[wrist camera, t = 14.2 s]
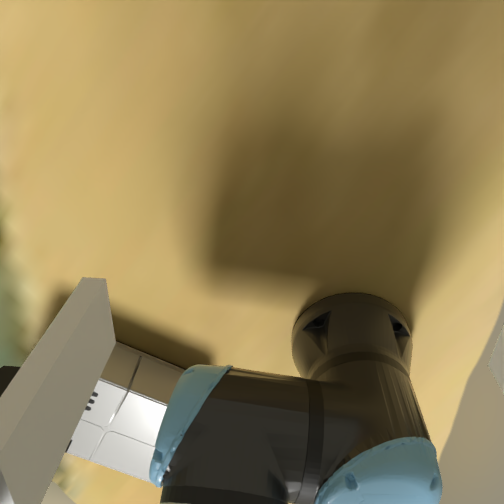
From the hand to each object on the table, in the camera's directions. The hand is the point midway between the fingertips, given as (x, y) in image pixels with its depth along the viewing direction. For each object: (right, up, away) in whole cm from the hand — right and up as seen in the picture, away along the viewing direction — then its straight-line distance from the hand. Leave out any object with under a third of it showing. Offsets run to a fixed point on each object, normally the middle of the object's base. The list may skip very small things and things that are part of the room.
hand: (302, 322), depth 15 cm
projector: (-20, -17, +52) cm, 58 cm away
